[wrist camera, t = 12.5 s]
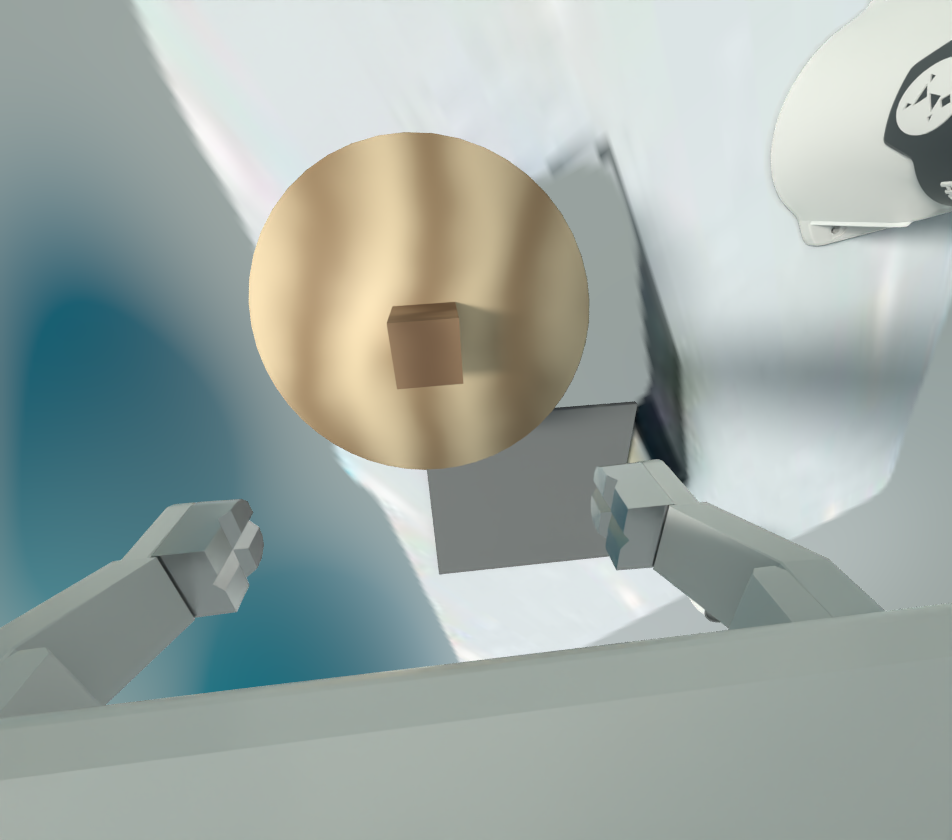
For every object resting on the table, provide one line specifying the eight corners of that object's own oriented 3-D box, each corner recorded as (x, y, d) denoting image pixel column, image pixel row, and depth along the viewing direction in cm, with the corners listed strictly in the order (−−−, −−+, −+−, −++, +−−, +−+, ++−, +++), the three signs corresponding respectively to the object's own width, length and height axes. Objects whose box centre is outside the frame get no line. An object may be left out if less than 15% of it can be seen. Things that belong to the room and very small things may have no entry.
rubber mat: (635, 401, 45) (637, 403, 45) (608, 552, 57) (609, 556, 56) (421, 418, 43) (421, 421, 43) (439, 570, 55) (439, 574, 55)
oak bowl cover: (601, 125, 23) (639, 109, 18) (573, 450, 33) (594, 486, 29) (197, 144, 21) (140, 130, 17) (304, 476, 32) (285, 518, 28)
